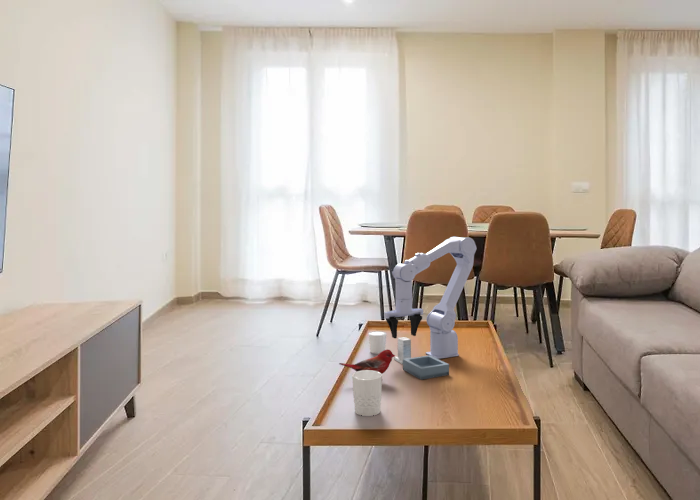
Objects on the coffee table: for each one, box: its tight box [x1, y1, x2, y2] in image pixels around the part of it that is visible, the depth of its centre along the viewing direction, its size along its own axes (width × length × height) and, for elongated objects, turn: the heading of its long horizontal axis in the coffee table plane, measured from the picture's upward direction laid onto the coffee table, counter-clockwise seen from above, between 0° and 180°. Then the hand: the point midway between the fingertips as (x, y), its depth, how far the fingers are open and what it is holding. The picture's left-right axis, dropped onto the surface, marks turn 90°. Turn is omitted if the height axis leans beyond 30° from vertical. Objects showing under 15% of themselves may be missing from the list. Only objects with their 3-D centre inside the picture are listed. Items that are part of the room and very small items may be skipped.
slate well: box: [402, 354, 450, 381], centre depth 168 cm, size 10×11×4 cm
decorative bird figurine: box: [338, 348, 396, 375], centre depth 159 cm, size 3×18×10 cm, turn 94°
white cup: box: [351, 370, 383, 417], centre depth 136 cm, size 8×8×10 cm
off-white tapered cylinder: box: [368, 330, 387, 354], centre depth 193 cm, size 7×7×7 cm
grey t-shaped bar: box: [393, 336, 412, 365], centre depth 180 cm, size 5×6×8 cm
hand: (404, 336), depth 180 cm, fingers open, 7 cm apart
